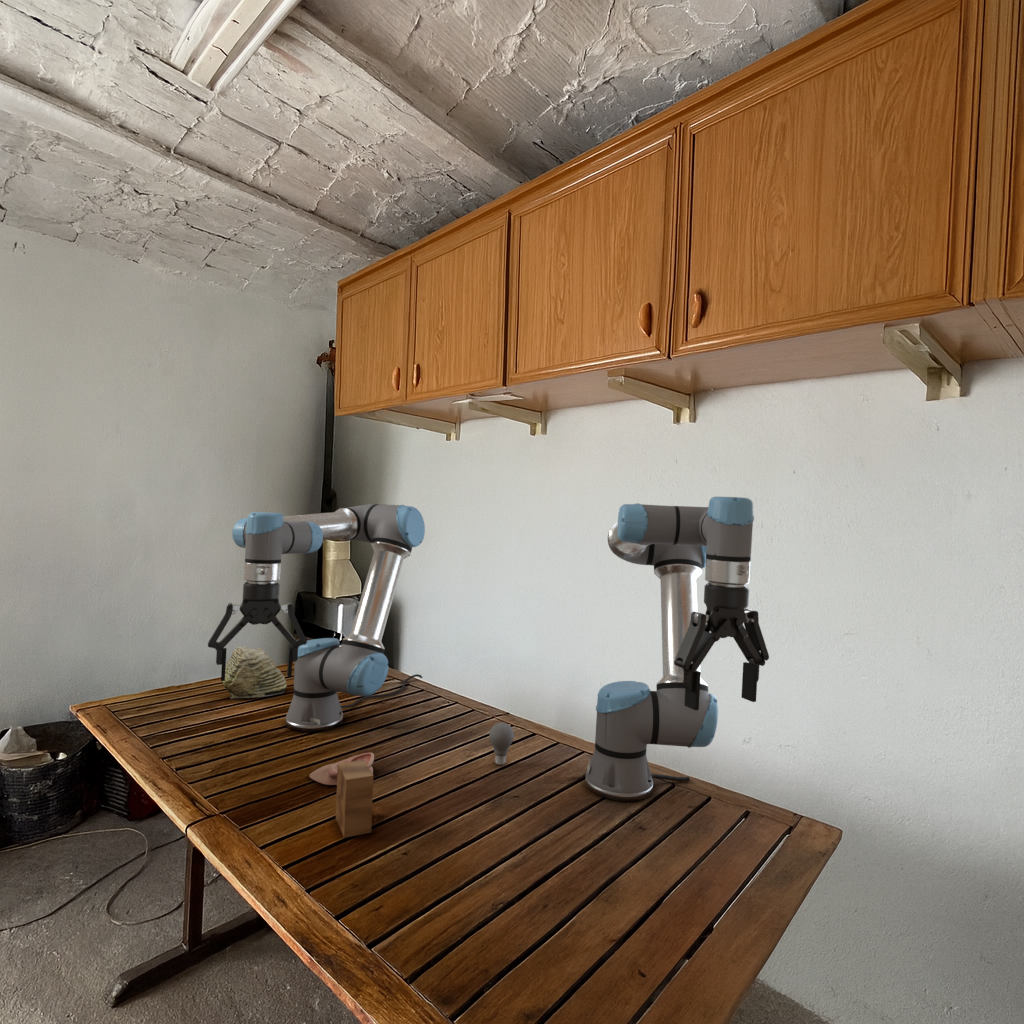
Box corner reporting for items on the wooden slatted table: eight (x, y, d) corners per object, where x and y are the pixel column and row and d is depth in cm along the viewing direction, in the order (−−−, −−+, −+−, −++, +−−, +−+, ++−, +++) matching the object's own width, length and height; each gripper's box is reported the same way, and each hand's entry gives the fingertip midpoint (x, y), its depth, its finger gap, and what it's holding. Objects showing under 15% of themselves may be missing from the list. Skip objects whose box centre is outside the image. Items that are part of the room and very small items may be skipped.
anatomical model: (302, 763, 140) (328, 744, 151) (302, 781, 140) (327, 761, 151) (358, 771, 137) (380, 751, 148) (358, 789, 137) (379, 768, 148)
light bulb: (487, 758, 157) (489, 718, 156) (511, 759, 157) (513, 719, 157) (488, 769, 151) (490, 727, 150) (513, 769, 151) (515, 727, 151)
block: (335, 818, 125) (337, 763, 125) (361, 813, 127) (363, 759, 127) (343, 838, 118) (346, 779, 118) (371, 832, 120) (373, 775, 120)
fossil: (218, 695, 195) (220, 647, 195) (278, 685, 208) (279, 640, 207) (228, 703, 189) (230, 653, 188) (289, 692, 201) (290, 645, 201)
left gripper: (198, 583, 132) (192, 685, 132) (322, 584, 142) (317, 678, 142) (200, 579, 139) (194, 676, 138) (318, 580, 148) (313, 670, 148)
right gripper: (687, 588, 103) (681, 718, 103) (793, 585, 114) (787, 702, 114) (657, 582, 109) (651, 704, 110) (760, 580, 121) (754, 690, 121)
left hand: (256, 677), depth 140 cm, fingers open, 13 cm apart
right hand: (720, 703), depth 112 cm, fingers open, 13 cm apart
